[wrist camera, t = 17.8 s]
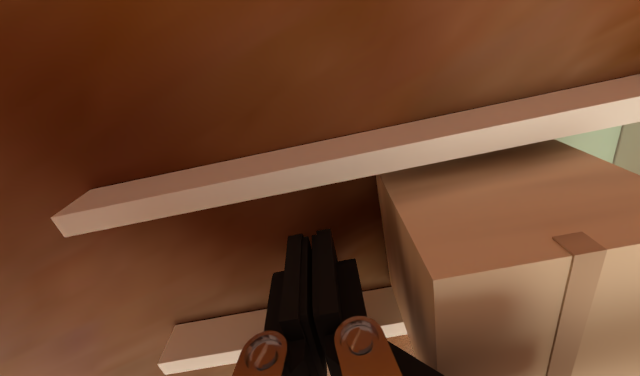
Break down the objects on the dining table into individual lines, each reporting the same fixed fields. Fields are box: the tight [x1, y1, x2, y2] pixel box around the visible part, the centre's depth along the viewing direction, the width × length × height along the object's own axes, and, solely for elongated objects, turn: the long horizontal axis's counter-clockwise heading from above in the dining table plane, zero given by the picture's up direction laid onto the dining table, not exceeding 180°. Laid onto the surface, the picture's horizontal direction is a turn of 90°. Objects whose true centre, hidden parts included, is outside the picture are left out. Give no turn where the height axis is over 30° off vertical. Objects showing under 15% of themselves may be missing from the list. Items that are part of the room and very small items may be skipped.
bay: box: [51, 74, 640, 375], centre depth 12 cm, size 9×21×3 cm, turn 102°
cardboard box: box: [376, 139, 640, 376], centre depth 10 cm, size 6×6×6 cm
